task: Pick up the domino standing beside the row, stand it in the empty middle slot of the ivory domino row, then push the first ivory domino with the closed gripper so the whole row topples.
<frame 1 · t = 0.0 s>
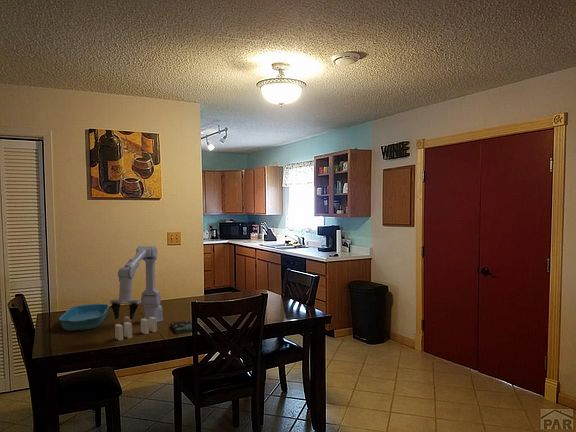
hand: (124, 318, 206), 11 cm above the table, tool pointing down, fingers open, 7 cm apart
domino 2: (145, 332, 217), on the table
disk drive: (182, 330, 223), on the table
domino 1: (153, 330, 220), on the table
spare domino: (127, 330, 222), on the table
domino 4: (128, 336, 211), on the table
casserole dish: (86, 323, 237), on the table
domino 5: (119, 339, 208), on the table
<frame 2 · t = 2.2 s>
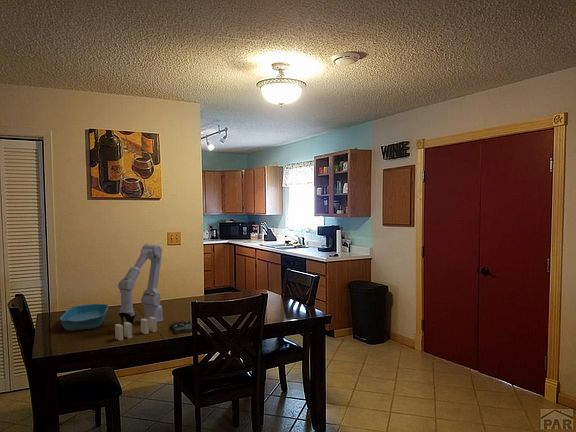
hand: (127, 326, 222), 2 cm above the table, tool pointing down, fingers closed on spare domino, 5 cm apart
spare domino: (127, 330, 222), on the table, touching gripper
everything else where it was.
when the fingers open (3 cm above the table, at t = 6.3 s): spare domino drops 1 cm, on the table.
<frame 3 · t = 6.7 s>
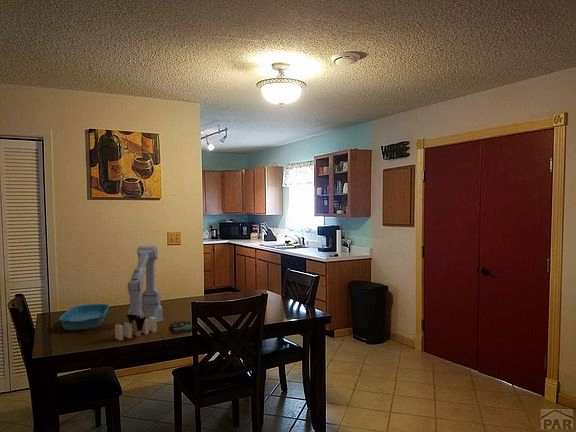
hand: (136, 329, 214), 3 cm above the table, tool pointing down, fingers open, 7 cm apart
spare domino: (136, 334, 214), on the table
everything else where it was.
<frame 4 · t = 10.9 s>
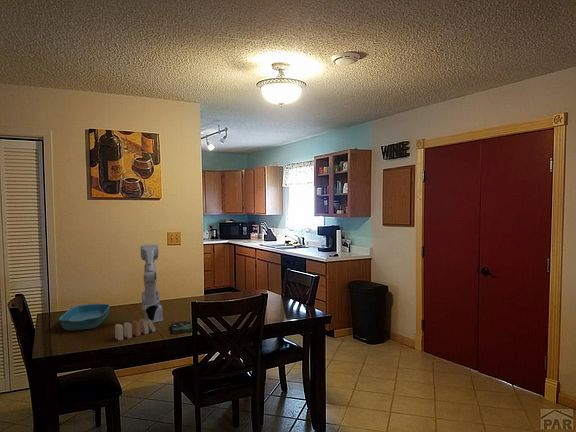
hand: (151, 320, 219), 6 cm above the table, tool pointing down, fingers closed
domino 2: (145, 332, 217), on the table, tilted 8°
domino 1: (152, 329, 220), on the table, tilted 28°
everything else where it was.
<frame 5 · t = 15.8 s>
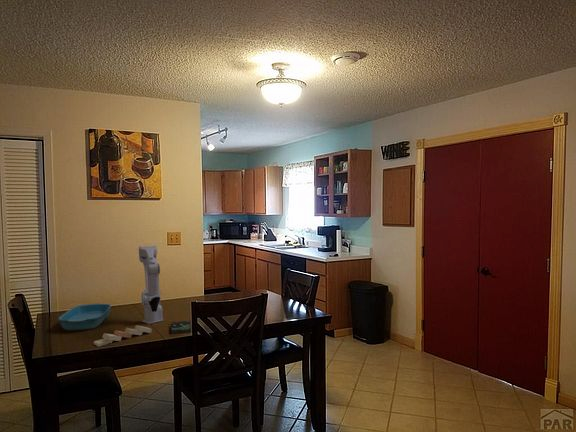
hand: (154, 311, 224), 9 cm above the table, tool pointing down, fingers closed
domino 2: (139, 332, 215), point 1 cm above the table, tilted 69°
domino 1: (149, 330, 218), point 1 cm above the table, tilted 67°
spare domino: (129, 335, 211), point 1 cm above the table, tilted 69°
domino 4: (118, 337, 206), point 1 cm above the table, tilted 70°, touching domino 5
domino 5: (110, 340, 204), on the table, tilted 90°, touching domino 4
at the end: domino 5 tilted 90°; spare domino inside the target area (2.1 cm from its centre), point 0.9 cm above the table; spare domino tilted 69° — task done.
